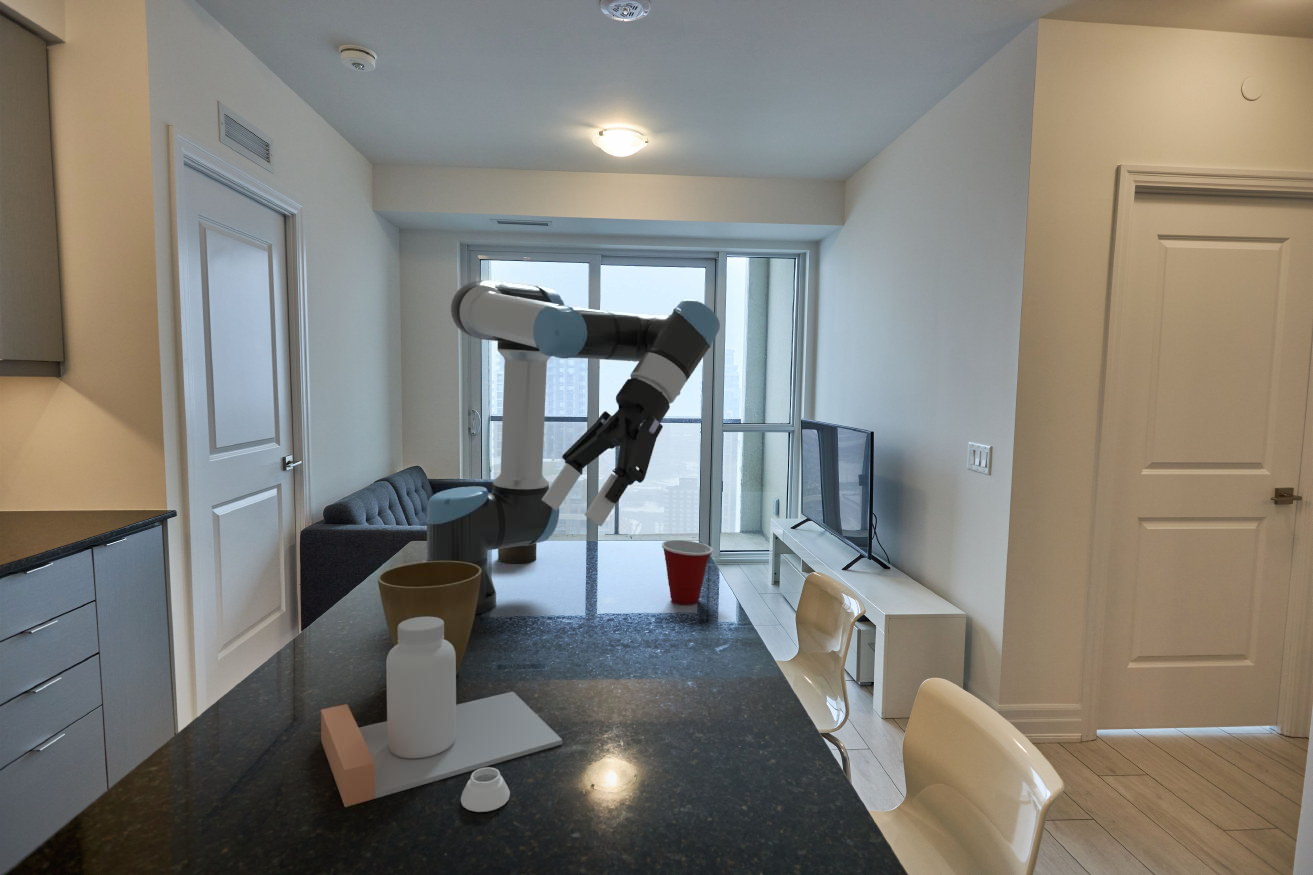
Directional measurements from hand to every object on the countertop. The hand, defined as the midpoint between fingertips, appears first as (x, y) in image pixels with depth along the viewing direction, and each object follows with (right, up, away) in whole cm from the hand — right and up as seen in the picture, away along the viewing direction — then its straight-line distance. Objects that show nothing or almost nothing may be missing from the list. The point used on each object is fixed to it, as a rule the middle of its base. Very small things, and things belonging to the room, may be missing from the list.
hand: (569, 512), depth 97 cm
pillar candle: (-24, -21, +82) cm, 88 cm away
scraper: (-15, -27, -10) cm, 33 cm away
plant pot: (-22, -26, +10) cm, 36 cm away
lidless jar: (-6, -29, -22) cm, 37 cm away
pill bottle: (-16, -27, -12) cm, 34 cm away
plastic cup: (+18, -24, +50) cm, 58 cm away
